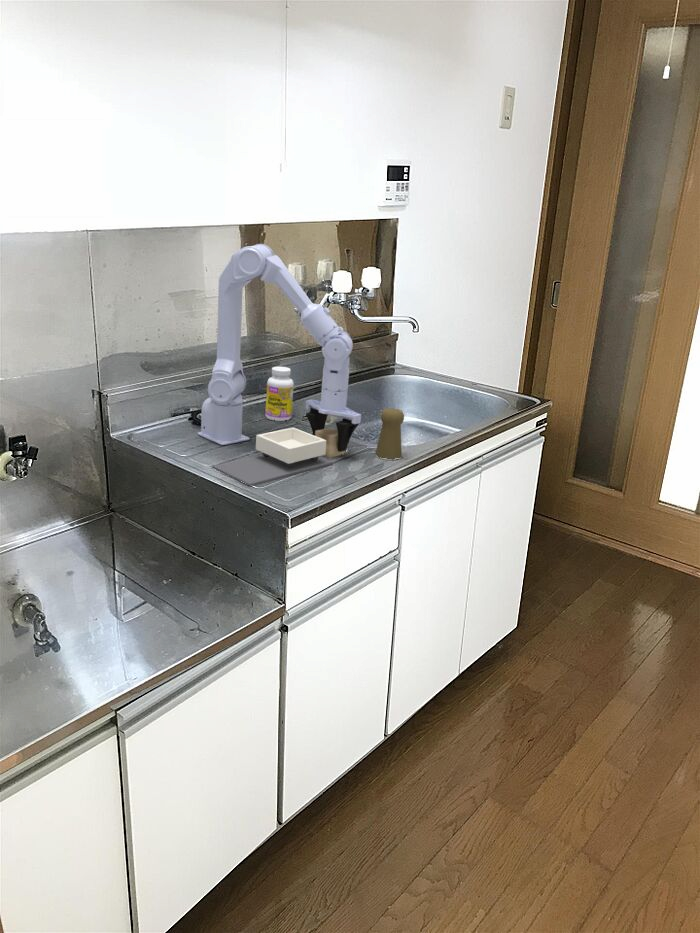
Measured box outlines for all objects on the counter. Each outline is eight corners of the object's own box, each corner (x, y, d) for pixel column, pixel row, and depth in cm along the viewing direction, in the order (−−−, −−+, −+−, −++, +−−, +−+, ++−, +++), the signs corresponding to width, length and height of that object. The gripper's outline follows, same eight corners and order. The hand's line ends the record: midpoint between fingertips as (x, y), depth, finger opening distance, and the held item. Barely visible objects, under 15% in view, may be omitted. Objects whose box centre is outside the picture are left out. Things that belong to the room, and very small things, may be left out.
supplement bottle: (262, 419, 195) (264, 369, 191) (269, 413, 202) (271, 364, 197) (288, 423, 195) (291, 373, 190) (294, 416, 201) (297, 367, 196)
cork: (401, 453, 180) (407, 407, 176) (401, 461, 174) (406, 414, 171) (376, 450, 181) (380, 404, 177) (374, 458, 175) (378, 411, 171)
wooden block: (313, 451, 176) (315, 430, 174) (329, 447, 180) (331, 427, 178) (329, 458, 173) (331, 436, 171) (345, 454, 176) (346, 433, 175)
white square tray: (255, 456, 167) (256, 435, 166) (292, 447, 175) (293, 427, 173) (288, 471, 161) (289, 449, 159) (324, 461, 168) (326, 440, 166)
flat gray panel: (212, 468, 161) (212, 466, 160) (295, 448, 177) (295, 446, 176) (249, 486, 153) (249, 484, 153) (332, 464, 169) (332, 462, 169)
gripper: (298, 383, 172) (294, 441, 177) (348, 398, 164) (343, 458, 169) (319, 379, 178) (314, 435, 182) (369, 393, 169) (363, 452, 174)
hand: (330, 446), depth 176 cm, fingers open, 6 cm apart
